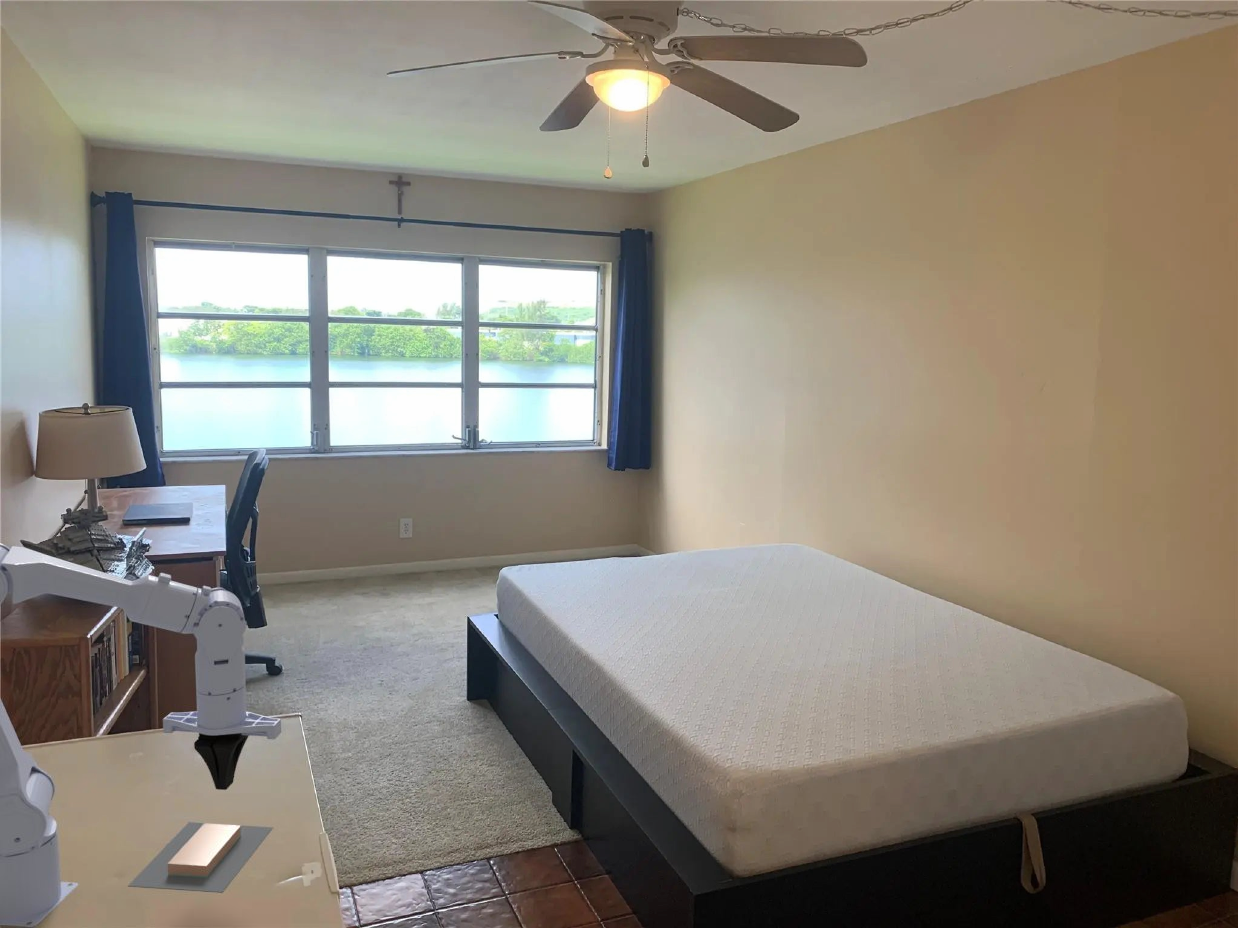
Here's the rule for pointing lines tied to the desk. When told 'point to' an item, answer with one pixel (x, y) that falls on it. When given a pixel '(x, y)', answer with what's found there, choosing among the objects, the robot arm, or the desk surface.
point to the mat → (218, 878)
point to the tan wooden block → (204, 850)
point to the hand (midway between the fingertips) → (224, 785)
